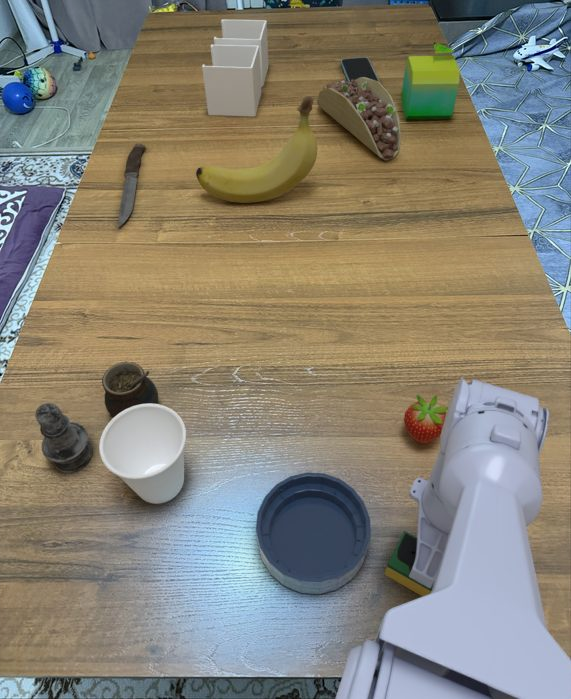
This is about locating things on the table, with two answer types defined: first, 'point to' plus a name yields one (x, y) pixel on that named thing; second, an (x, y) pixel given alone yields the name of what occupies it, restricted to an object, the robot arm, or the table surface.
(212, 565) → the table surface
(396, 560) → the sponge
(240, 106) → the storage container
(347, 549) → the bowl
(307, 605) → the table surface
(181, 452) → the cup
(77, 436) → the chess piece
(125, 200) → the knife
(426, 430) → the fruit
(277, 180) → the banana
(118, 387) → the mate gourd
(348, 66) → the smartphone
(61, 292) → the table surface
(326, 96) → the taco
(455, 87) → the leaf-topped green cube
